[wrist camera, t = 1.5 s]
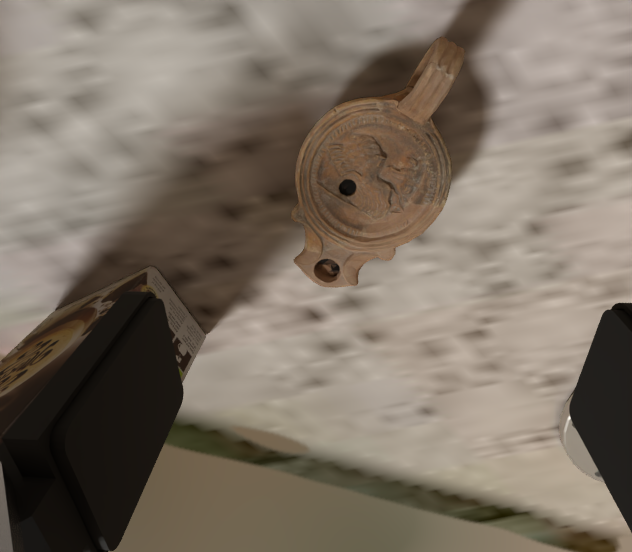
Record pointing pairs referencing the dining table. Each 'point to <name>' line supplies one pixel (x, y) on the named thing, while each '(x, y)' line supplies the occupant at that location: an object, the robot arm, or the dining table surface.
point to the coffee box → (72, 328)
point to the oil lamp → (374, 173)
